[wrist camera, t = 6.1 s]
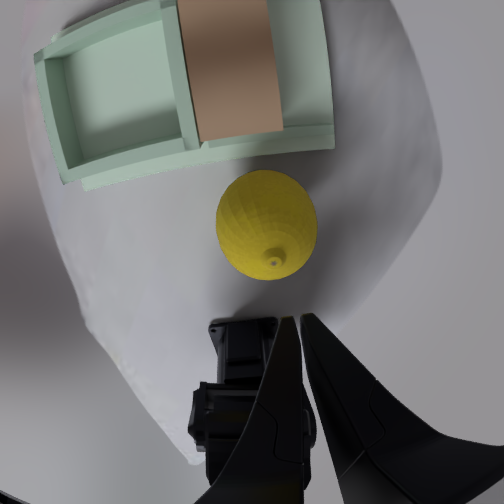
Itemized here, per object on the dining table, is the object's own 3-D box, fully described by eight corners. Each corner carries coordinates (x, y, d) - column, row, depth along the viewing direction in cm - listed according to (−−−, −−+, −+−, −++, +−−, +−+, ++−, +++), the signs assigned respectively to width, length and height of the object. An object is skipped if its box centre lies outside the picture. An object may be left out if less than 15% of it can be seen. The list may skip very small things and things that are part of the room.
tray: (330, 145, 17) (347, 157, 15) (90, 186, 18) (70, 205, 15) (310, -22, 11) (324, -39, 8) (58, 37, 11) (31, 35, 8)
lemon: (289, 145, 17) (324, 190, 11) (307, 218, 20) (340, 291, 14) (207, 170, 18) (190, 229, 11) (234, 238, 21) (234, 319, 14)
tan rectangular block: (275, 122, 15) (283, 130, 13) (207, 132, 15) (200, 142, 13) (258, -2, 11) (262, -19, 8) (186, 8, 11) (176, -6, 8)
